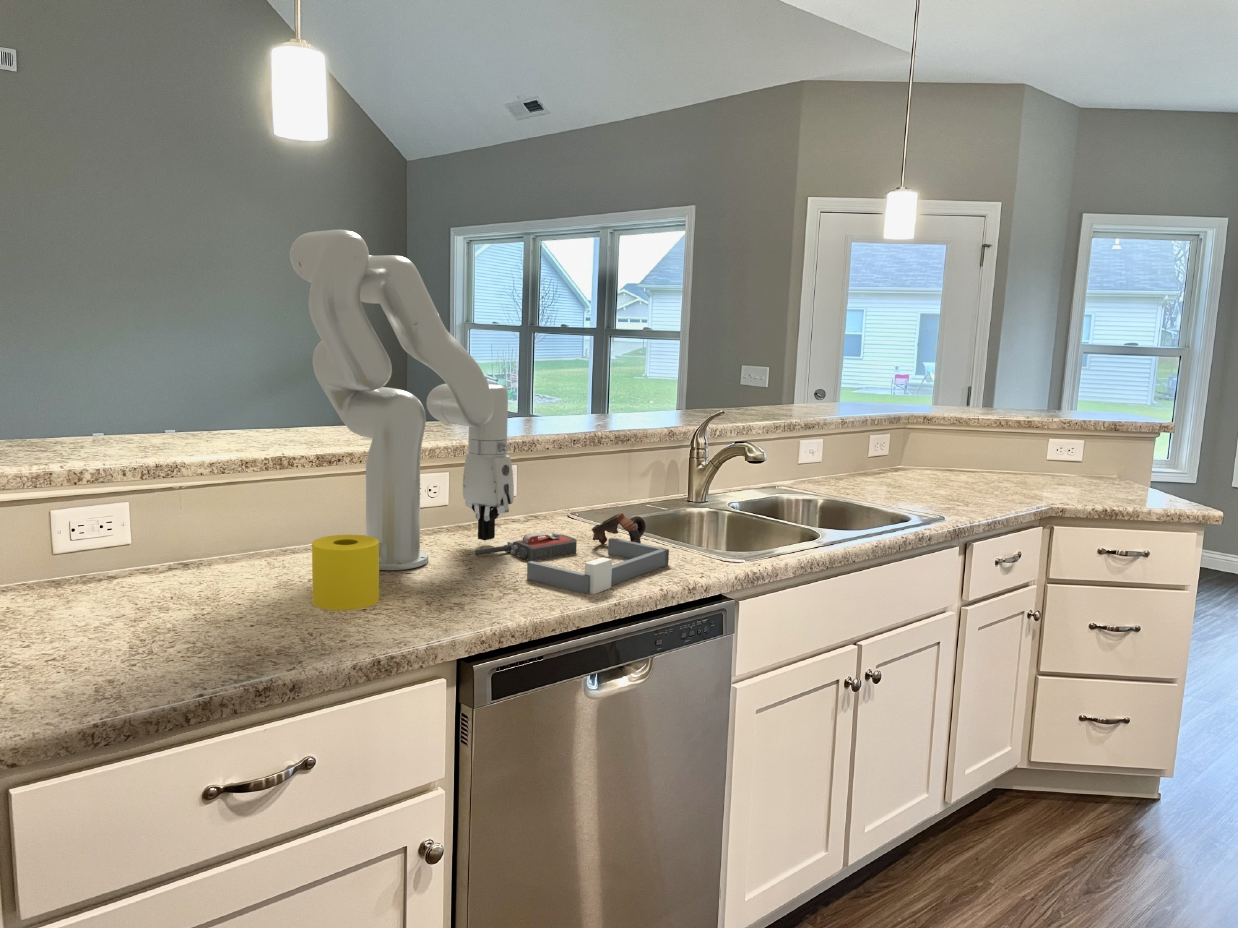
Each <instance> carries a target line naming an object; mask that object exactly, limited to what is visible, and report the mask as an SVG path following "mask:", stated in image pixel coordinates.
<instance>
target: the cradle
mask: <svg viewBox="0 0 1238 928" xmlns="http://www.w3.org/2000/svg"><path fill="white" fill-rule="evenodd" d="M607 541H608V546H607V554H608V555H613V556H617V557H623V558H626V559H627V560H623V561H621V562H619V563H614V564H613V559H612V558H607V557H599V558H595V559H594V560H590V561H586V562H584V572H580V571H576V570H572V569H567V568H563V567H558V566H555V565H551V564H546V563H543V562H539V561H535V560H534V561H528V562H527V565H526V579H527V580H529V581H530V580H531V581H533V582H539V583H542V584H545V585H550V586H553V585H554V586H553V587H557V588H561V589H566V590H570V591H573V590H574V592H578V593H581V594H586V595H589V594H592V595H595V594H597V593H600V592H603V591H607V590H609V589H611V588H612V586H613V585H614V586H615V585H616V584H619V583H622V582H624V581H628V580H630V579H634V578H635V577H637V576H641V575H644V574H648V573H649V572H652V571H655V570H657V569H660V568H663V567H666V566H669V561H670V560H669V559H670V556H669V555H670V549H669V548H665V547H659V546H654V545H651V544H644V543H636V542H631V541H630V540H625V539H620V538H615V537H610V538H608V540H607Z"/></svg>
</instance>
